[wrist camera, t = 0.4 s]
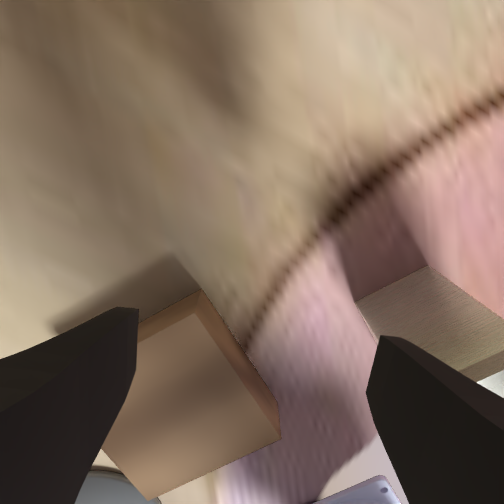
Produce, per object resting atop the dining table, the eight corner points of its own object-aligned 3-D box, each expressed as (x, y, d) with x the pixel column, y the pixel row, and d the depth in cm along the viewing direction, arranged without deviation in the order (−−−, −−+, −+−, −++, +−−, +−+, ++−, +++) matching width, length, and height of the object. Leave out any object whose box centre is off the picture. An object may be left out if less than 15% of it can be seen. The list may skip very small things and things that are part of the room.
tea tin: (457, 328, 22) (584, 444, 14) (385, 362, 23) (465, 493, 15) (428, 264, 21) (549, 349, 13) (353, 302, 22) (420, 407, 13)
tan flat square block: (277, 402, 24) (281, 438, 21) (159, 459, 25) (147, 501, 22) (201, 288, 21) (194, 312, 18) (75, 358, 22) (50, 390, 20)
